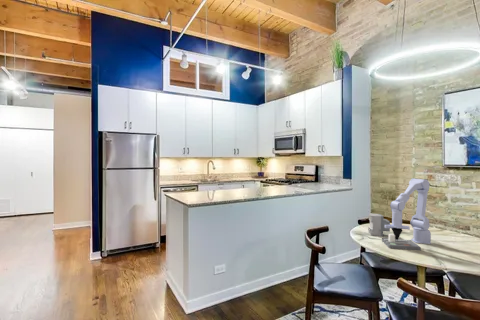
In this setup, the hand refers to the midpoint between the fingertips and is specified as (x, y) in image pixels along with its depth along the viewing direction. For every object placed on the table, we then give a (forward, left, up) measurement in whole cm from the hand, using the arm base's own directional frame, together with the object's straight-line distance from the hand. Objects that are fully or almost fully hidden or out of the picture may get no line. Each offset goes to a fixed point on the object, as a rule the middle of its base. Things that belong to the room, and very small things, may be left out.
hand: (396, 239), depth 170 cm
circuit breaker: (+3, -23, -4) cm, 24 cm away
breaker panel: (-2, 0, -4) cm, 5 cm away
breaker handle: (+3, 0, -2) cm, 3 cm away
